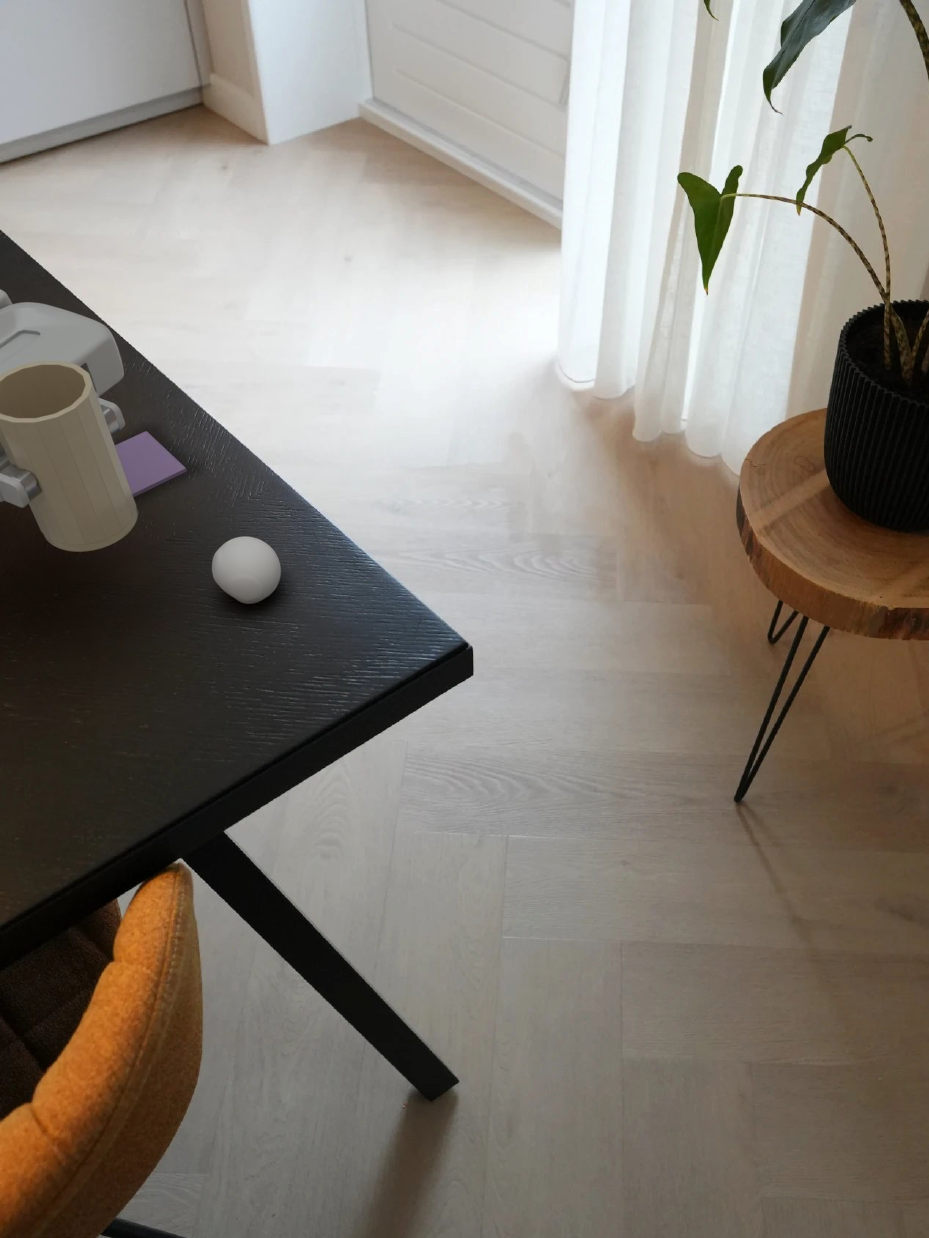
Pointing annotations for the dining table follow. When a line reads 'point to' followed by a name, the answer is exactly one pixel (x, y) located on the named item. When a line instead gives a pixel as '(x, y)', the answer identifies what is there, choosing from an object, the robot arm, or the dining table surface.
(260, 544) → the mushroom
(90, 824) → the dining table surface
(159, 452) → the napkin
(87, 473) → the cup
